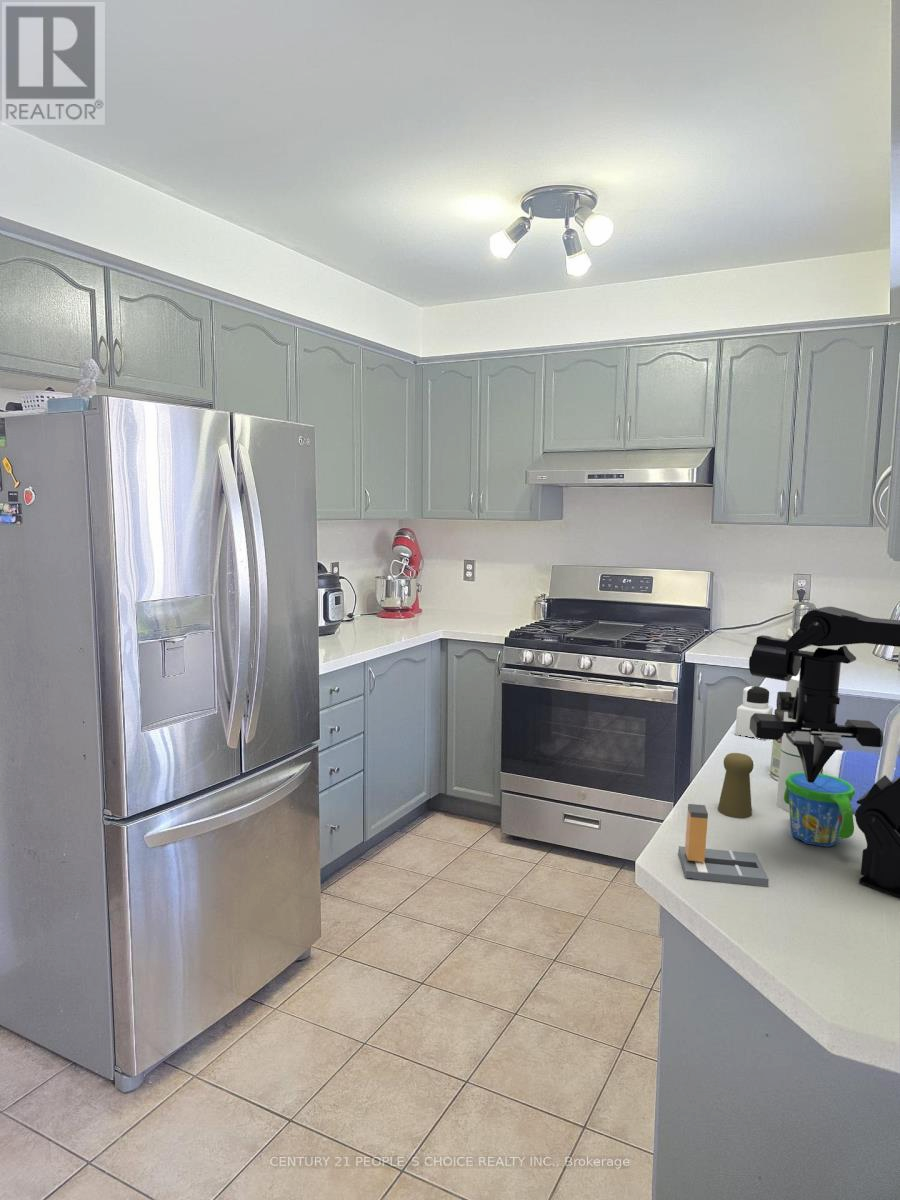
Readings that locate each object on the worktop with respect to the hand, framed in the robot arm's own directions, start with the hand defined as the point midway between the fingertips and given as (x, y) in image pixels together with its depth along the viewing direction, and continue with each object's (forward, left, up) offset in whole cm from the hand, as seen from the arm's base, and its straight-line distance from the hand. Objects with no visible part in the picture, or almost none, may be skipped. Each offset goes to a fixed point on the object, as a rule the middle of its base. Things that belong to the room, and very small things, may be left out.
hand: (809, 781), depth 128 cm
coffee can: (+19, -37, -13) cm, 44 cm away
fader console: (+6, +14, -13) cm, 20 cm away
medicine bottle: (+42, -61, -13) cm, 75 cm away
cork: (+17, -9, -13) cm, 24 cm away
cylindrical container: (+11, -21, -13) cm, 28 cm away
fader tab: (+9, +17, -13) cm, 23 cm away
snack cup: (+2, -9, -13) cm, 16 cm away
